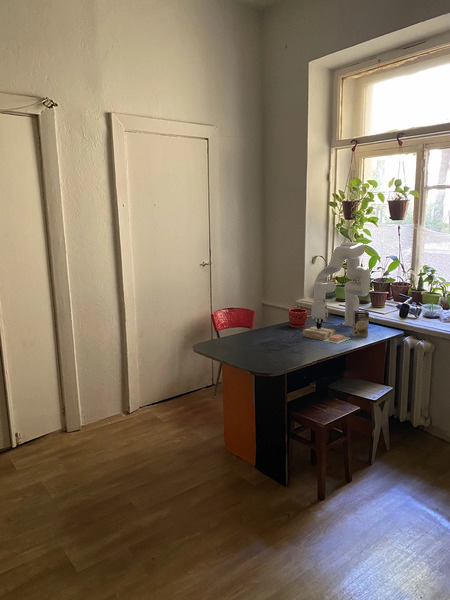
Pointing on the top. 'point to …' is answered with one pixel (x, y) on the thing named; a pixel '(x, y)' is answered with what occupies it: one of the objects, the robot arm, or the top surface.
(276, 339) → the top surface
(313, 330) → the deck
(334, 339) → the salmon brown flat block
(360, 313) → the coffee box
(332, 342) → the mat
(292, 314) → the plant pot
